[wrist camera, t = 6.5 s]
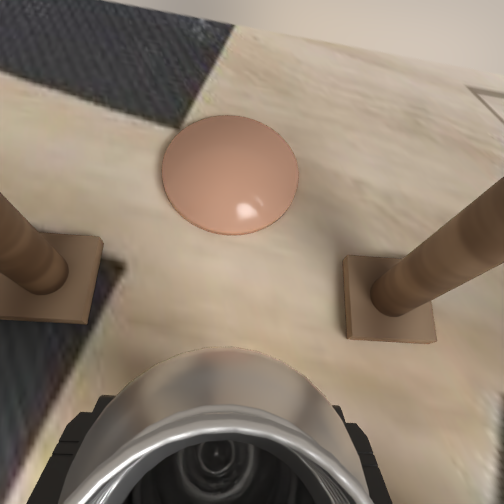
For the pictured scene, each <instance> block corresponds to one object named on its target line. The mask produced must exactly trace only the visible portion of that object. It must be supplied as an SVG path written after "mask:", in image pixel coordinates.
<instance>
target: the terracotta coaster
mask: <svg viewBox="0 0 504 504" xmlns="http://www.w3.org/2000/svg"><path fill="white" fill-rule="evenodd" d="M162 179H163V184H164V188H165V192H166V194H167V197H168V199H169V201H170V202H171V204H172V206H173V207H174V208H175V209H176V211H177V212H178V213H179V214H180V215H181V216H182V217H183V218H184V219H186V220H187V221H189V222H190V223H191V224H193V225H195V226H197V227H199V228H201V229H203V230H206V231H208V232H212V233H216V234H222V235H243V234H249V233H253V232H256V231H259V230H262V229H264V228H266V227H268V226H270V225H271V224H273V223H274V222H276V221H277V220H278V219H279V218H280V217H281V216H282V215H283V214H284V213H285V212H286V211H287V209H288V208H289V206H290V204H291V203H292V200H293V198H294V195H295V193H296V190H297V186H298V179H299V172H298V165H297V161H296V158H295V156H294V153H293V152H292V150H291V148H290V146H289V145H288V144H287V142H286V141H285V140H284V139H283V138H282V137H281V136H280V135H279V134H278V133H277V132H275V131H274V130H273V129H271V128H270V127H268V126H266V125H264V124H262V123H260V122H258V121H255V120H253V119H249V118H245V117H240V116H229V115H225V116H215V117H209V118H206V119H202V120H200V121H197V122H195V123H193V124H191V125H189V126H188V127H186V128H185V129H183V130H182V131H181V132H180V133H179V134H178V135H177V136H176V137H175V138H174V139H173V140H172V141H171V143H170V145H169V146H168V148H167V150H166V152H165V155H164V158H163V163H162Z"/></svg>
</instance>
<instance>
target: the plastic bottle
mask: <svg viewBox="0 0 504 504" xmlns="http://www.w3.org/2000/svg"><path fill="white" fill-rule="evenodd" d="M58 504H374V503H373V501H372V500H371V498H370V497H369V490H368V487H367V483H366V480H365V476H364V473H363V469H362V466H361V462H360V458H359V456H358V454H357V451H356V449H355V447H354V445H353V443H352V441H351V439H350V436H349V434H348V432H347V430H346V428H345V426H344V424H343V421H342V420H341V418H340V417H339V415H338V414H337V412H336V411H335V410H334V408H333V407H332V405H331V404H330V402H329V401H328V400H327V398H326V397H325V395H324V394H323V393H322V392H321V391H320V390H319V389H317V388H316V387H315V386H314V385H313V384H312V383H311V382H310V381H309V380H308V379H307V378H306V377H305V376H304V375H303V374H301V373H300V372H298V371H297V370H295V369H294V368H292V367H291V366H289V365H288V364H286V363H285V362H283V361H281V360H279V359H276V358H274V357H271V356H269V355H266V354H264V353H261V352H259V351H254V350H248V349H243V348H237V347H206V348H202V349H198V350H194V351H189V352H185V353H181V354H178V355H176V356H174V357H172V358H169V359H167V360H165V361H163V362H161V363H158V364H156V365H154V366H153V367H151V368H150V369H148V370H147V371H145V372H144V373H143V374H141V375H140V376H138V377H137V378H135V379H134V380H133V381H131V382H130V383H129V384H128V385H127V386H126V387H125V388H124V389H123V390H122V391H121V392H120V393H119V394H118V395H117V396H116V397H115V398H114V399H113V400H112V401H111V402H110V403H109V404H108V405H107V406H106V407H105V409H104V410H103V411H102V413H101V414H100V416H99V417H98V418H97V420H96V421H95V422H94V424H93V425H92V427H91V428H90V429H89V431H88V432H87V434H86V436H85V438H84V440H83V442H82V444H81V446H80V448H79V450H78V452H77V454H76V456H75V458H74V460H73V462H72V464H71V466H70V469H69V471H68V473H67V476H66V479H65V482H64V485H63V489H62V492H61V495H60V498H59V501H58Z"/></svg>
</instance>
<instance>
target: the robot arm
mask: <svg viewBox="0 0 504 504" xmlns="http://www.w3.org/2000/svg"><path fill="white" fill-rule="evenodd" d="M115 397H116V396H109V395H101V396H100V397H99V399H98V401H97V403H96V405H95V408H94V410H93V412H92V413H91V412H80V413H79V414H78V415H77V416H76V417H75V418H74V419H73V420H72V421H71V422H70V423H69V424H68V425H67V426H66V428H65V430H64V432H63V434H62V436H61V438H60V440H59V443H58V444H57V445H56V447H55V449H54V451H53V453H52V457H50V459H49V461H48V463H47V465H46V467H45V469H44V470H43V472H42V474H41V476H40V478H39V480H38V482H37V484H36V486H35V488H34V490H33V492H32V494H31V496H30V497H29V499H28V501H27V503H26V504H58V501H59V498H60V495H61V492H62V489H63V485H64V482H65V479H66V476H67V473H68V471H69V469H70V466H71V464H72V462H73V460H74V458H75V456H76V454H77V452H78V450H79V448H80V446H81V444H82V442H83V440H84V438H85V436H86V434H87V432H88V431H89V429H90V428H91V427H92V425H93V424H94V422H95V421H96V420H97V418H98V417H99V416H100V414H101V413H102V411H103V410H104V409H105V407H106V406H107V405H108V404H109V403H110V402H111V401H112V400H113V399H114V398H115ZM332 407H333V408H334V410H335V411H336V412H337V414H338V415H339V417H340V418H341V420H342V421H343V424H344V426H345V428H346V430H347V432H348V434H349V436H350V439H351V441H352V443H353V445H354V447H355V449H356V451H357V454H358V456H359V458H360V462H361V466H362V469H363V473H364V476H365V480H366V483H367V487H368V490H369V497H370V498H371V500H372V501H373V503H374V504H392V501H391V499H390V496H389V493H388V491H387V488H386V485H385V483H384V480H383V477H382V475H381V472H380V469H379V468H378V464H377V462H376V459H375V456H374V455H373V451H372V448H371V446H370V443H369V440H368V438H367V436H366V435H365V434H364V432H363V431H362V430H361V429H360V428H359V426H358V425H357V424H356V423H346V422H345V419H344V416H343V413H342V410H341V408H340V406H336V405H332Z"/></svg>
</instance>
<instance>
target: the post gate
mask: <svg viewBox="0 0 504 504" xmlns="http://www.w3.org/2000/svg"><path fill="white" fill-rule="evenodd" d="M103 245H104V243H103V241H102V240H101V238H100V237H96V236H83V235H69V234H55V233H42V232H38V231H37V230H36V229H35V228H34V227H33V226H32V225H31V224H30V223H29V222H28V221H27V220H26V219H25V218H24V217H23V216H22V215H21V213H20V212H19V211H18V210H17V209H16V208H15V207H14V206H13V205H12V204H11V203H10V202H9V201H8V200H7V199H6V198H5V197H4V196H3V195H2V194H1V193H0V319H2V320H19V321H37V322H54V323H72V324H87V323H88V318H89V313H90V308H91V303H92V299H93V294H94V289H95V284H96V279H97V274H98V270H99V265H100V260H101V255H102V250H103ZM502 263H504V177H503V178H501V179H500V180H499V181H498V182H497V183H495V184H494V185H493V186H492V187H490V188H489V189H488V190H487V191H485V192H484V193H483V194H482V195H481V196H479V197H478V198H477V199H476V200H474V201H473V202H472V203H471V204H470V205H468V206H467V207H466V208H465V209H463V210H462V211H461V212H460V213H458V214H457V215H456V216H455V217H454V218H452V219H451V220H450V221H449V222H447V223H446V224H445V225H444V226H443V227H441V228H440V229H439V230H438V231H436V232H435V233H434V234H433V235H432V236H430V237H429V238H428V239H427V240H425V241H424V242H423V243H422V244H420V245H419V246H418V247H417V248H416V249H414V250H413V251H412V252H411V253H409V254H408V255H407V256H406V257H405V258H403V259H396V258H382V257H368V256H355V255H347V256H346V257H345V259H344V260H343V278H344V295H345V313H346V331H347V339H350V340H368V341H385V342H402V343H420V344H430V343H433V342H436V341H437V337H436V330H435V323H434V316H433V309H432V303H431V300H433V299H435V298H437V297H438V296H440V295H442V294H444V293H446V292H448V291H450V290H452V289H454V288H456V287H458V286H460V285H462V284H463V283H465V282H467V281H469V280H471V279H473V278H475V277H477V276H479V275H481V274H483V273H485V272H486V271H488V270H490V269H492V268H494V267H496V266H498V265H500V264H502Z"/></svg>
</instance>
